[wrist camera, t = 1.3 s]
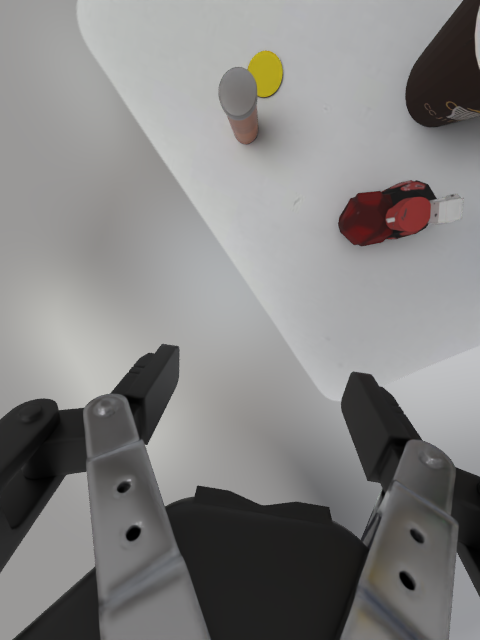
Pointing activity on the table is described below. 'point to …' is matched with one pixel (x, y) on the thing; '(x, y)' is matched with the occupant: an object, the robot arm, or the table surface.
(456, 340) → the table surface
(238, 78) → the orange and grey cylinder
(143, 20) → the table surface
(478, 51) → the coffee mug
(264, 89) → the disc
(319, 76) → the table surface
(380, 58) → the table surface
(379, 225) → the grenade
